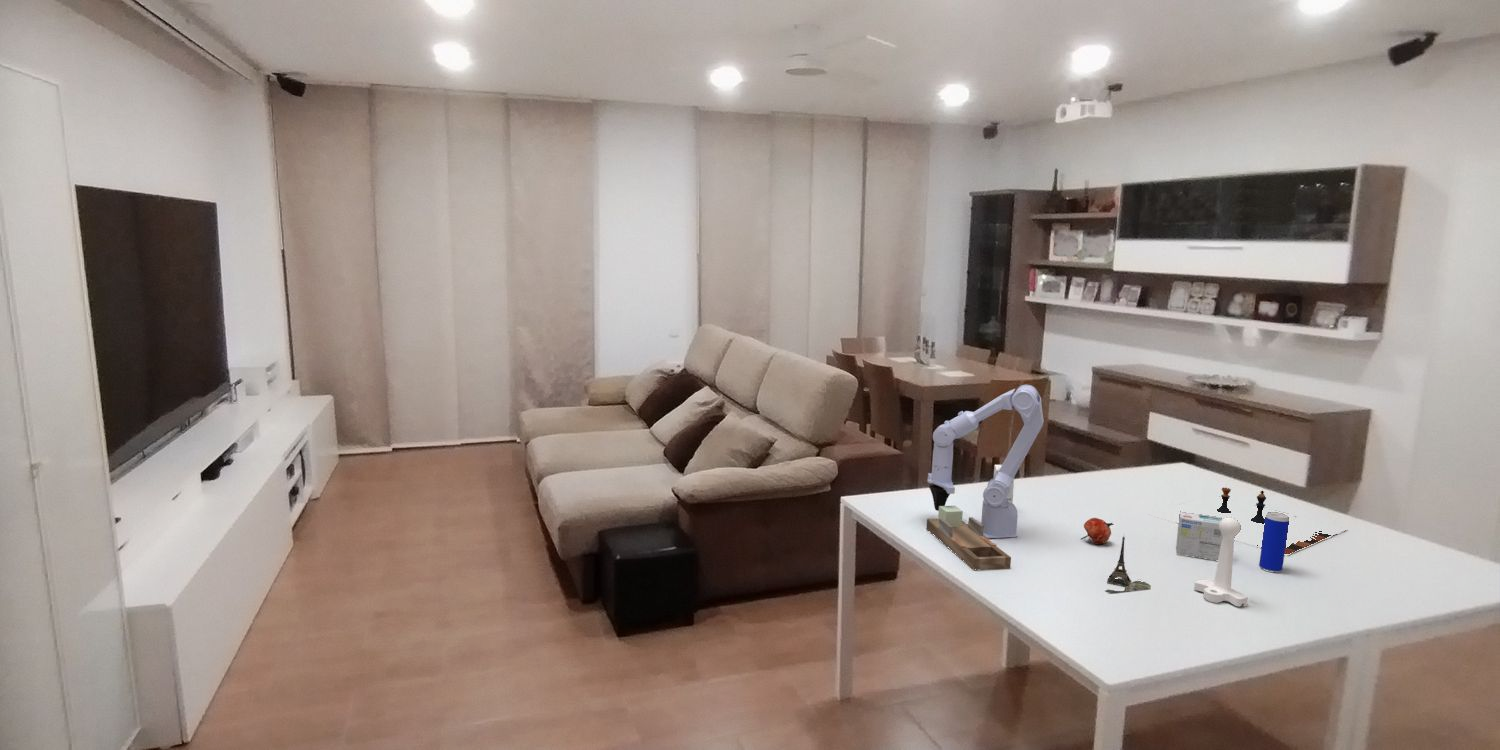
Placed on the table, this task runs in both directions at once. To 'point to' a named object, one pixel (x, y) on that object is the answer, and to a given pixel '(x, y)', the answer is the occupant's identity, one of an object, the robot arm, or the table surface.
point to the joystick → (1223, 569)
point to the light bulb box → (1199, 535)
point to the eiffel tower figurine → (1124, 577)
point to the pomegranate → (1098, 530)
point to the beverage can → (1274, 541)
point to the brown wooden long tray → (970, 544)
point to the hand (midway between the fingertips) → (939, 509)
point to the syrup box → (1010, 494)
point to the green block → (951, 515)
